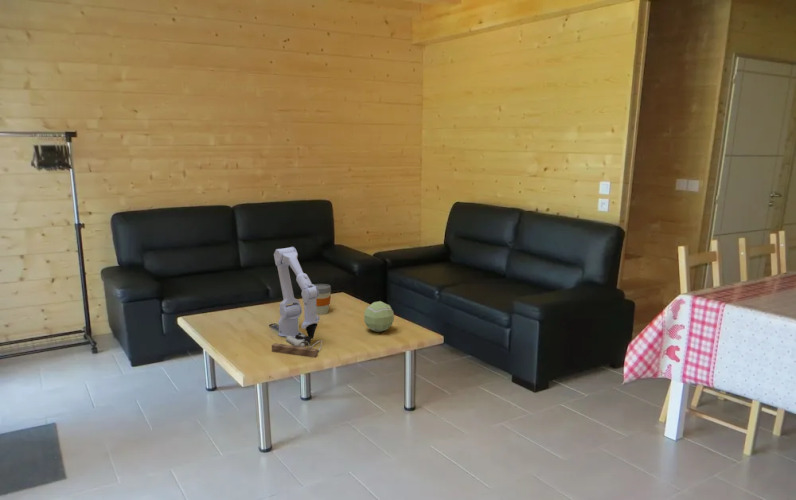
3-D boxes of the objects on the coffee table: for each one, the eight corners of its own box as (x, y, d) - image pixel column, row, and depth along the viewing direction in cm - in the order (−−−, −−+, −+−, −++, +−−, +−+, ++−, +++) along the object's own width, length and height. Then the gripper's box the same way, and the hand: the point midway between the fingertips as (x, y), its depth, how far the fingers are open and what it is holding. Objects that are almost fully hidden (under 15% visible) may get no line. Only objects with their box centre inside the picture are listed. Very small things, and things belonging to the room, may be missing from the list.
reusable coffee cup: (311, 308, 334) (310, 283, 331) (333, 309, 334) (332, 283, 331) (307, 315, 322) (306, 289, 319) (329, 315, 321) (329, 289, 318)
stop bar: (271, 351, 266) (271, 345, 266) (275, 349, 269) (275, 343, 269) (314, 357, 259) (314, 351, 259) (317, 355, 262) (317, 348, 262)
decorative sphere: (399, 332, 294) (399, 304, 291) (373, 337, 286) (373, 308, 283) (384, 324, 306) (384, 297, 304) (359, 329, 299) (359, 301, 296)
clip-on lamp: (326, 354, 271) (298, 339, 280) (329, 342, 270) (301, 327, 279) (310, 359, 261) (281, 343, 270) (313, 347, 260) (284, 331, 269)
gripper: (310, 316, 267) (311, 344, 269) (324, 308, 280) (325, 334, 283) (297, 315, 269) (297, 342, 272) (311, 306, 282) (312, 332, 285)
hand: (310, 338), depth 277 cm, fingers closed, pressing on clip-on lamp
